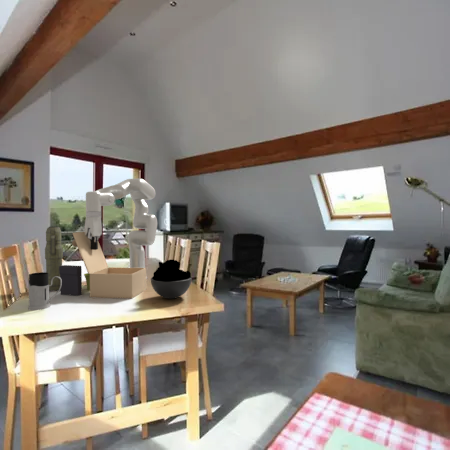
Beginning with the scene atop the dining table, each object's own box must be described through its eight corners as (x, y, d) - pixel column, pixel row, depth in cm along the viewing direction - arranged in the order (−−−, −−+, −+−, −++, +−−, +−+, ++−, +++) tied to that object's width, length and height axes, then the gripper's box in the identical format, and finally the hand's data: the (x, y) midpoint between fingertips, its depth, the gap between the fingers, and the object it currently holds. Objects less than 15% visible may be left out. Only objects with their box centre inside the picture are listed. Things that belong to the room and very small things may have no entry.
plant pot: (80, 290, 175) (80, 274, 175) (91, 286, 184) (91, 271, 184) (95, 291, 173) (94, 275, 173) (105, 287, 182) (105, 272, 182)
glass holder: (34, 304, 147) (33, 272, 146) (66, 304, 148) (65, 271, 147) (23, 310, 138) (23, 275, 138) (57, 309, 139) (57, 275, 139)
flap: (108, 267, 180) (95, 272, 180) (94, 230, 180) (80, 236, 181) (89, 273, 159) (74, 279, 160) (73, 232, 160) (58, 238, 160)
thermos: (45, 292, 170) (44, 227, 169) (45, 288, 180) (44, 226, 180) (64, 290, 175) (63, 226, 174) (62, 286, 185) (61, 226, 184)
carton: (108, 288, 180) (108, 267, 179) (146, 289, 177) (146, 267, 177) (89, 297, 160) (89, 273, 159) (132, 298, 157) (132, 274, 157)
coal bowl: (186, 291, 171) (186, 257, 171) (196, 300, 153) (196, 261, 152) (148, 295, 164) (147, 258, 164) (154, 305, 146) (153, 264, 145)
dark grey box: (83, 294, 167) (82, 265, 166) (77, 296, 162) (76, 266, 162) (65, 292, 170) (65, 264, 169) (59, 294, 165) (58, 266, 165)
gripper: (94, 215, 177) (94, 248, 177) (79, 215, 162) (79, 251, 162) (107, 215, 176) (107, 248, 177) (93, 215, 161) (93, 251, 162)
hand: (94, 249), depth 170 cm, fingers closed
